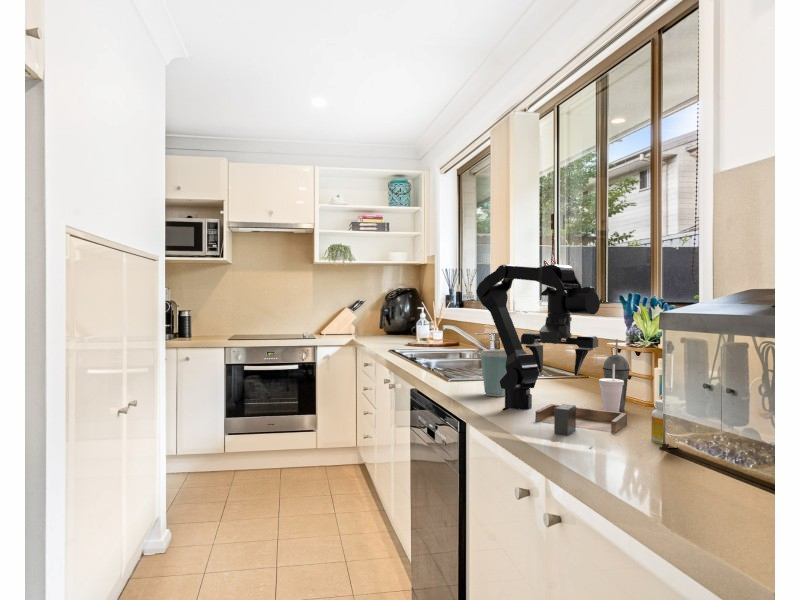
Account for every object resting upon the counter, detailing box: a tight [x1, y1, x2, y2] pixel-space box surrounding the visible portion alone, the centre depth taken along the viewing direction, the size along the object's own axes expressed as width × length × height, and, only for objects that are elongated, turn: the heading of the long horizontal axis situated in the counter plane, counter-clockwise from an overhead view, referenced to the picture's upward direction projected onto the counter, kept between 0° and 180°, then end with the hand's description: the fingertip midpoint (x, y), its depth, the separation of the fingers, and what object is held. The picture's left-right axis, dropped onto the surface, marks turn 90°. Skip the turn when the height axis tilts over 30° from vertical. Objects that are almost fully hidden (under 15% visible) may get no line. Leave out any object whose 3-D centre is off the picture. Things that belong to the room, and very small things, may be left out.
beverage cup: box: [602, 339, 631, 412], centre depth 158 cm, size 7×7×20 cm
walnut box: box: [534, 403, 628, 434], centre depth 136 cm, size 19×12×4 cm, turn 56°
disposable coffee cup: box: [479, 349, 507, 397], centre depth 178 cm, size 11×11×15 cm
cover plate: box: [553, 403, 577, 437], centre depth 126 cm, size 12×9×7 cm
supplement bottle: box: [650, 399, 663, 445], centre depth 119 cm, size 5×5×10 cm
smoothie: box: [598, 364, 624, 412], centre depth 149 cm, size 6×6×14 cm
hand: (558, 373), depth 143 cm, fingers open, 9 cm apart
